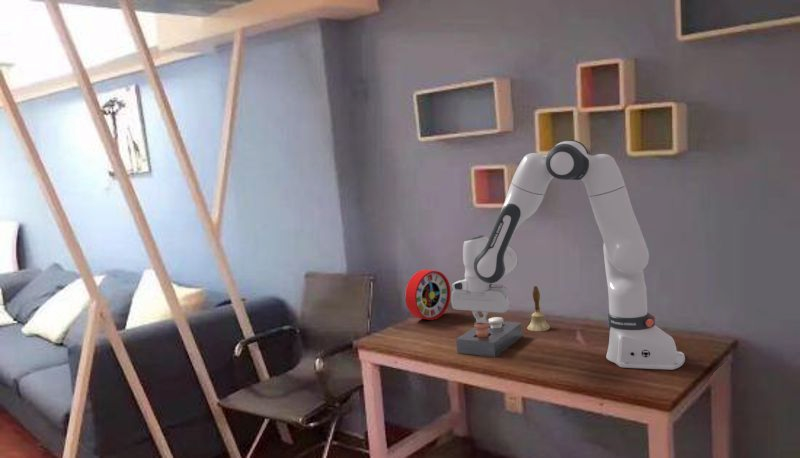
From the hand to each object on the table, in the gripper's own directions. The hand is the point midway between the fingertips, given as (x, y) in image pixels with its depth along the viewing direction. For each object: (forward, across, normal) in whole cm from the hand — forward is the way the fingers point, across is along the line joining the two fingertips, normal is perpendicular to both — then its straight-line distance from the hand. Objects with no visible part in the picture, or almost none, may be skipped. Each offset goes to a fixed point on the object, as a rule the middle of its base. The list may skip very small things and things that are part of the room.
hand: (481, 323), depth 218 cm
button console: (+9, 0, -6) cm, 11 cm away
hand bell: (+9, -9, -28) cm, 31 cm away
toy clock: (+10, +38, -29) cm, 48 cm away
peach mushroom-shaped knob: (+6, 0, 0) cm, 6 cm away
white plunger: (+8, 0, -11) cm, 13 cm away
